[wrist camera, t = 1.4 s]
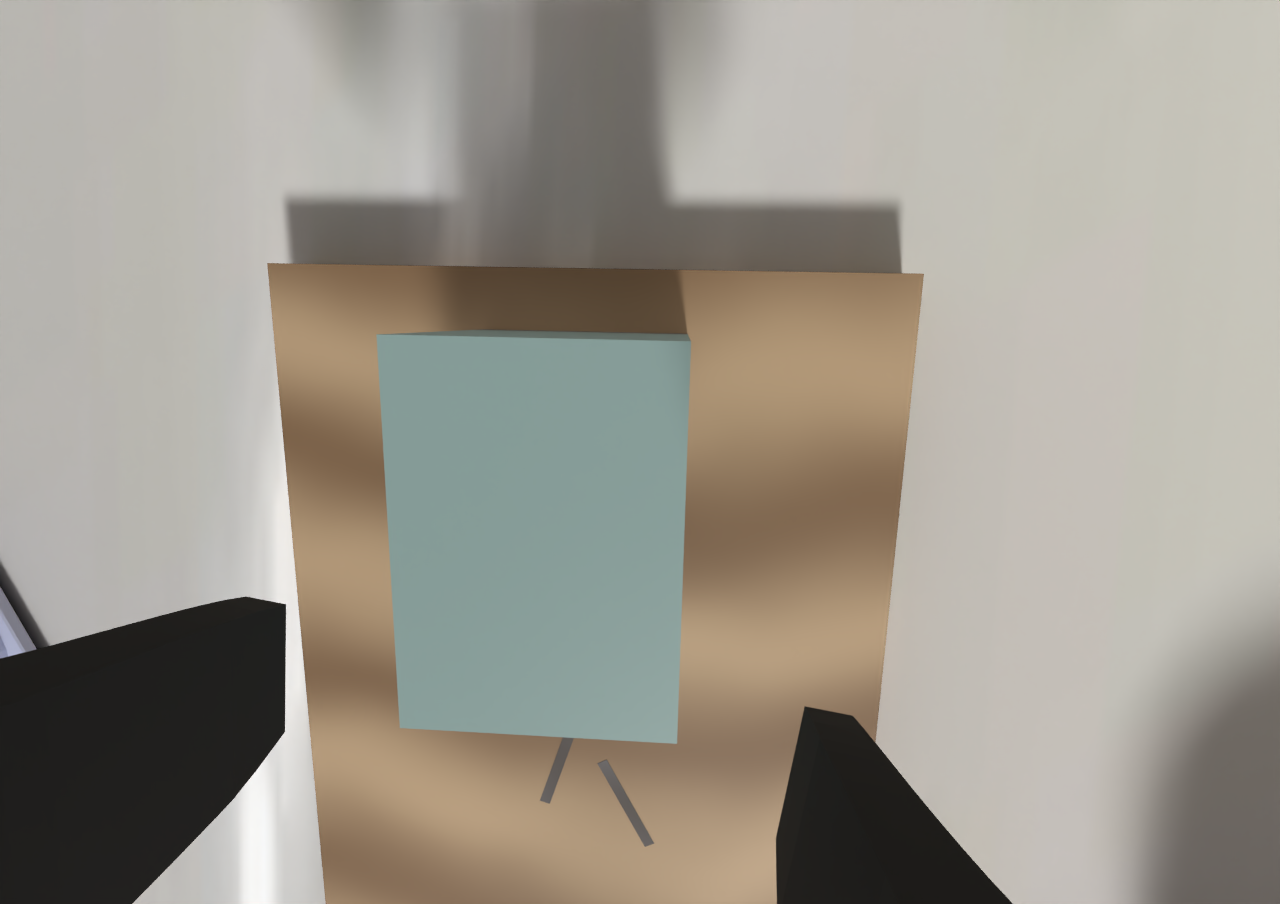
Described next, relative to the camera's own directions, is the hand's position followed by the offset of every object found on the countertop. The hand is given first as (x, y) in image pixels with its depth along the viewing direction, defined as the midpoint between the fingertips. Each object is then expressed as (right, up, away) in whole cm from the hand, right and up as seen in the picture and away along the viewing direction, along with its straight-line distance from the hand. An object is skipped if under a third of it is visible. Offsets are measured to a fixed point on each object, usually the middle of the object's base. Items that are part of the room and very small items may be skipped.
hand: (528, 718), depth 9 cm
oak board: (0, -3, +11) cm, 11 cm away
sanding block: (0, +3, +8) cm, 9 cm away
